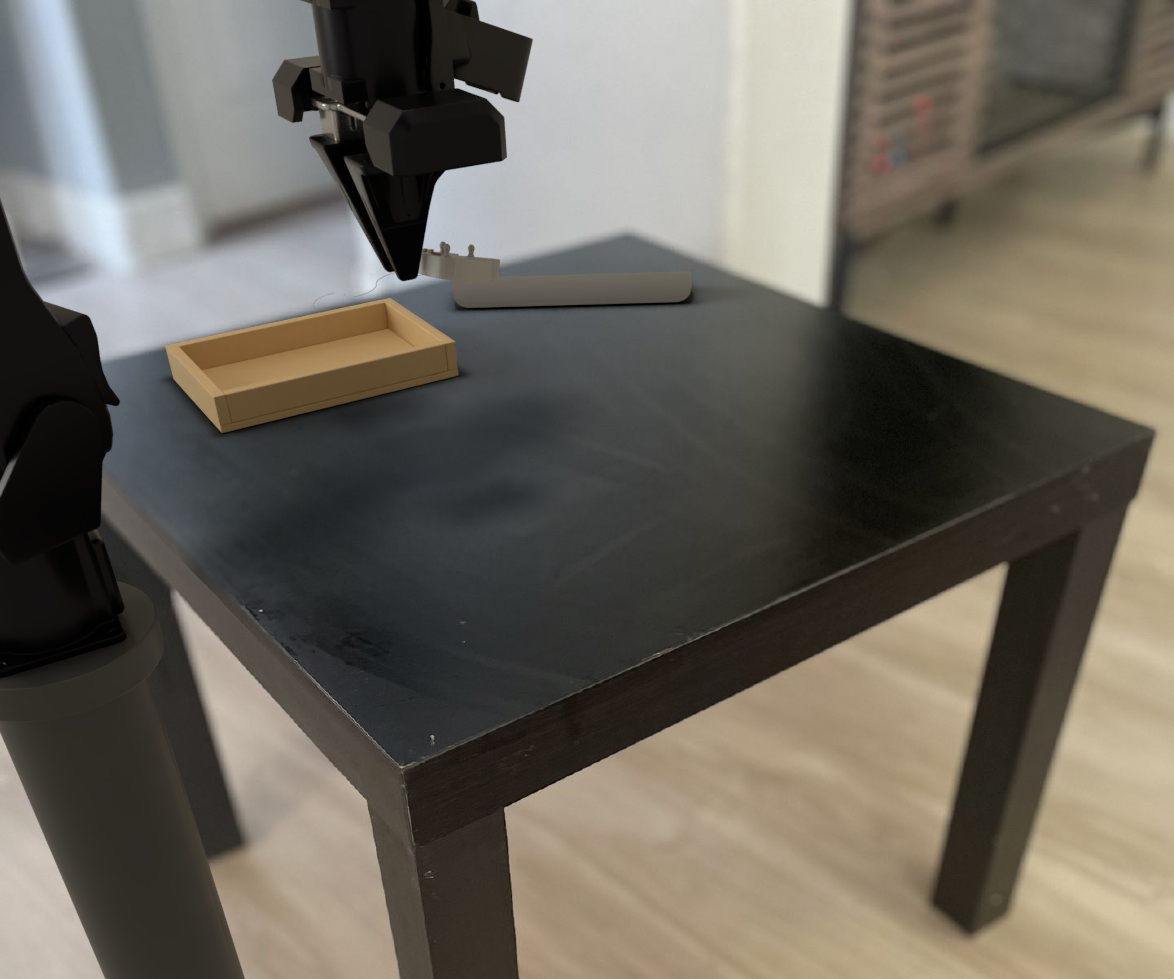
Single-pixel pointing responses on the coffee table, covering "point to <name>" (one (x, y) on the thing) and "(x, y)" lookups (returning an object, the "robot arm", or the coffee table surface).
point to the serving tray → (310, 363)
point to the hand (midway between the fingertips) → (401, 275)
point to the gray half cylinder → (575, 289)
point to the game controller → (456, 266)
